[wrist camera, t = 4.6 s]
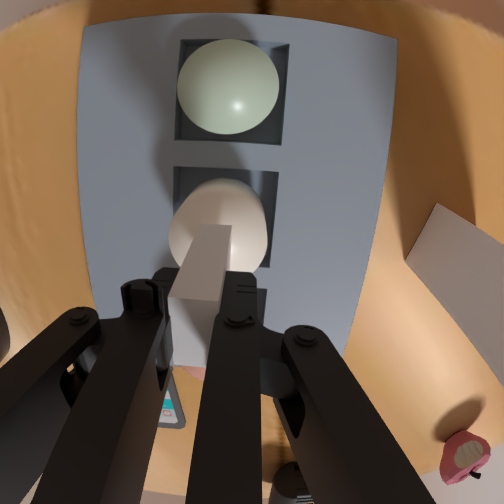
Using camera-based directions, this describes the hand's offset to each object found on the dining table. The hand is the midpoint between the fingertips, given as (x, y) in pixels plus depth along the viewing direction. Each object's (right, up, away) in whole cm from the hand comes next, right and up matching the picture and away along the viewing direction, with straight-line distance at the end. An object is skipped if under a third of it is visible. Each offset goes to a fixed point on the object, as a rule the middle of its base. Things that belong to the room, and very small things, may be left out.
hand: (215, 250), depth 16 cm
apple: (+36, -32, +24) cm, 54 cm away
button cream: (0, +2, +5) cm, 5 cm away
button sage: (+1, +10, +3) cm, 10 cm away
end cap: (+8, -34, +25) cm, 43 cm away
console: (0, +4, +8) cm, 9 cm away
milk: (+19, +1, +10) cm, 21 cm away
